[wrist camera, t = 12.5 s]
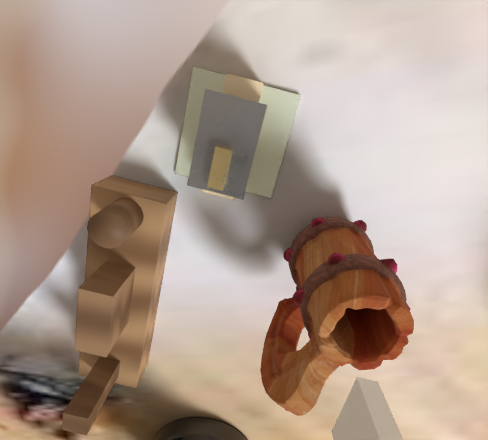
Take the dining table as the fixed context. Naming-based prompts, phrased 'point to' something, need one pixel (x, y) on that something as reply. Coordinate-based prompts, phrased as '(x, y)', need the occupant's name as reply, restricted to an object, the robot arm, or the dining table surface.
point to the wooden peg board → (118, 291)
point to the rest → (272, 130)
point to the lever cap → (225, 143)
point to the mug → (333, 313)
